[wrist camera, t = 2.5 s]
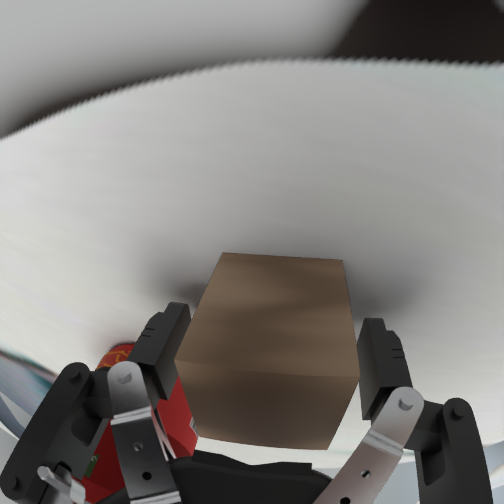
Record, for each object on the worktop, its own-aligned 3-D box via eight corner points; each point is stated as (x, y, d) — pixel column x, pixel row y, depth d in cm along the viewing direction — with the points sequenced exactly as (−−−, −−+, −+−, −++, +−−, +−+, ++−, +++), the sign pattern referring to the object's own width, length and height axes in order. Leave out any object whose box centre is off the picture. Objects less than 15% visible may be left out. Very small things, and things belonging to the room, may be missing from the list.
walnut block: (341, 259, 12) (360, 376, 7) (326, 343, 15) (327, 449, 10) (222, 252, 13) (173, 359, 8) (229, 335, 15) (199, 436, 10)
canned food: (142, 324, 16) (51, 494, 6) (235, 400, 18) (197, 552, 9) (90, 358, 19) (22, 474, 10) (167, 417, 21) (126, 530, 12)
